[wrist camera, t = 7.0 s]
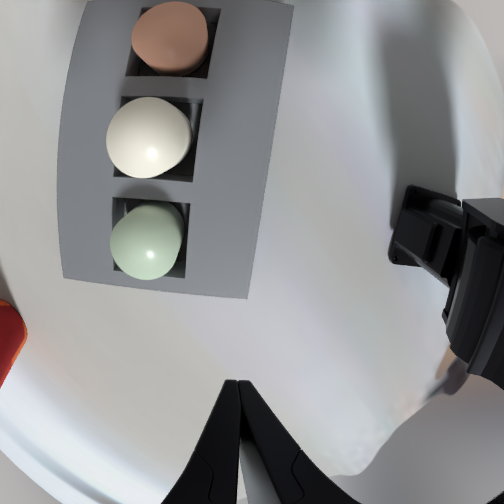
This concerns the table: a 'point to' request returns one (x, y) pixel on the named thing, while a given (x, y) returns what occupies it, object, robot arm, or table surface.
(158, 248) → the sage button
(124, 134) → the cream button
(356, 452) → the table surface
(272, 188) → the table surface
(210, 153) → the grey flat board
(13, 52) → the table surface
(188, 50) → the pink button
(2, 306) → the paper cup
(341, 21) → the table surface
